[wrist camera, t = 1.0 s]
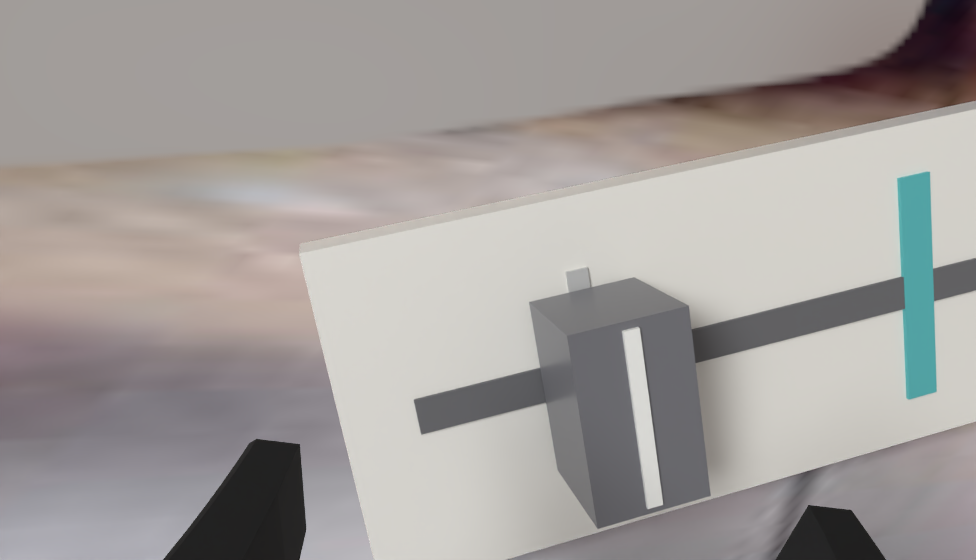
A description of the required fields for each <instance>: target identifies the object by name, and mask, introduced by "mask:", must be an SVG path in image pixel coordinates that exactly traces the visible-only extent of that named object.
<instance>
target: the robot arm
mask: <svg viewBox="0 0 976 560" xmlns="http://www.w3.org/2000/svg"><path fill="white" fill-rule="evenodd" d="M305 532H306V520H305V507H304V494H303V481H302V468H301V455H300V444H293V443H285V442H277V441H268V440H260V439H256V440H254V441H253V442H251V443H249V445H248V446H247V448H246V449H245V451H244V452H243V454H242V455H241V457H240V458H239V460H238V461H237V463H236V464H235V466H234V467H233V468H232V470H231V471H230V473H229V474H228V476H227V477H226V478H225V480H224V481H223V483H222V484H221V486H220V487H219V488H218V490H217V491H216V492H215V494H214V495H213V496H212V498H211V499H210V501H209V502H208V503H207V505H206V506H205V507H204V509H203V510H202V511H201V512H200V514H199V515H198V516H197V518H196V519H195V520H194V522H193V523H192V524H191V526H190V527H189V528H188V530H187V531H186V532H185V533H184V535H183V536H182V537H181V538H180V539H179V541H178V542H177V543H176V544H175V546H174V547H173V548H172V549H171V551H170V552H169V553H168V554H167V556H166V557H165V558H164V559H163V560H299V559H300V554H301V550H302V546H303V541H304V537H305ZM776 560H886V559H885V558H884V556H883V555H882V553H881V552H880V550H879V549H878V547H877V546H876V545H875V543H874V542H873V540H872V539H871V537H870V536H869V534H868V533H867V532H866V530H865V529H864V527H863V526H862V525H861V523H860V522H859V520H858V519H857V517H856V516H855V515H854V513H853V512H852V510H845V509H837V508H828V507H820V506H811V505H808V507H807V509H806V510H805V512H804V514H803V515H802V517H801V519H800V520H799V522H798V524H797V525H796V527H795V529H794V530H793V532H792V534H791V535H790V537H789V539H788V540H787V542H786V544H785V545H784V547H783V549H782V550H781V552H780V554H779V555H778V557H777V559H776Z"/></svg>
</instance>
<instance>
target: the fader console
mask: <svg viewBox="0 0 976 560" xmlns="http://www.w3.org/2000/svg"><path fill="white" fill-rule="evenodd" d="M299 256H300V260H301V264H302V268H303V272H304V276H305V280H306V284H307V288H308V292H309V297H310V301H311V305H312V309H313V313H314V317H315V321H316V325H317V329H318V333H319V337H320V342H321V346H322V350H323V354H324V358H325V362H326V366H327V370H328V374H329V378H330V382H331V387H332V391H333V395H334V399H335V403H336V407H337V411H338V415H339V419H340V423H341V427H342V432H343V436H344V440H345V444H346V448H347V452H348V456H349V460H350V464H351V468H352V472H353V477H354V481H355V485H356V489H357V493H358V497H359V501H360V505H361V509H362V513H363V517H364V522H365V526H366V530H367V534H368V538H369V542H370V546H371V550H372V554H373V558H374V560H506V559H510V558H513V557H517V556H520V555H523V554H527V553H530V552H534V551H537V550H540V549H544V548H547V547H551V546H554V545H557V544H561V543H564V542H568V541H571V540H574V539H578V538H581V537H585V536H588V535H591V534H595V533H598V532H602V531H605V530H608V529H612V528H615V527H619V526H622V525H625V524H629V523H632V522H636V521H639V520H642V519H646V518H649V517H653V516H656V515H659V514H663V513H666V512H670V511H673V510H676V509H680V508H683V507H687V506H690V505H693V504H697V503H700V502H704V501H707V500H710V499H714V498H717V497H721V496H724V495H727V494H731V493H734V492H738V491H741V490H744V489H748V488H751V487H755V486H758V485H761V484H765V483H768V482H772V481H775V480H778V479H782V478H785V477H789V476H792V475H795V474H799V473H802V472H806V471H809V470H812V469H816V468H819V467H823V466H826V465H829V464H833V463H836V462H840V461H843V460H846V459H850V458H853V457H857V456H860V455H863V454H867V453H870V452H874V451H877V450H880V449H884V448H887V447H891V446H894V445H897V444H901V443H904V442H908V441H911V440H914V439H918V438H921V437H925V436H928V435H932V434H935V433H938V432H942V431H945V430H949V429H952V428H955V427H959V426H962V425H966V424H969V423H972V422H976V101H973V102H968V103H963V104H958V105H954V106H949V107H944V108H939V109H935V110H930V111H925V112H921V113H916V114H911V115H906V116H902V117H897V118H892V119H887V120H883V121H878V122H873V123H869V124H864V125H859V126H854V127H850V128H845V129H840V130H835V131H831V132H826V133H821V134H817V135H812V136H807V137H802V138H798V139H793V140H788V141H783V142H779V143H774V144H769V145H764V146H760V147H755V148H750V149H746V150H741V151H736V152H731V153H727V154H722V155H717V156H712V157H708V158H703V159H698V160H694V161H689V162H684V163H679V164H675V165H670V166H665V167H660V168H656V169H651V170H646V171H641V172H637V173H632V174H627V175H623V176H618V177H613V178H608V179H604V180H599V181H594V182H589V183H585V184H580V185H575V186H571V187H566V188H561V189H556V190H552V191H547V192H542V193H537V194H533V195H528V196H523V197H519V198H514V199H509V200H504V201H500V202H495V203H490V204H485V205H481V206H476V207H471V208H466V209H462V210H457V211H452V212H448V213H443V214H438V215H433V216H429V217H424V218H419V219H414V220H410V221H405V222H400V223H396V224H391V225H386V226H381V227H377V228H372V229H367V230H362V231H358V232H353V233H348V234H344V235H339V236H334V237H329V238H325V239H320V240H315V241H310V242H306V243H301V244H300V249H299ZM633 277H635V278H637V279H639V280H641V281H642V282H644V283H646V284H648V285H650V286H652V287H654V288H656V289H658V290H660V291H662V292H664V293H665V294H667V295H669V296H671V297H673V298H675V299H677V300H679V301H681V302H683V303H685V304H687V305H688V306H689V311H690V320H691V329H692V337H693V346H694V355H695V363H696V372H697V381H698V389H699V398H700V407H701V416H702V424H703V433H704V442H705V450H706V459H707V468H708V476H709V485H710V494H711V496H709V497H705V498H702V499H698V500H695V501H692V502H688V503H685V504H681V505H678V506H674V507H671V508H668V509H664V510H661V511H657V512H654V513H651V514H647V515H644V516H640V517H637V518H634V519H630V520H627V521H623V522H620V523H616V524H613V525H610V526H606V527H603V528H599V529H597V527H596V526H595V524H594V523H593V522H592V520H591V519H590V517H589V516H588V514H587V513H586V511H585V510H584V508H583V507H582V505H581V504H580V502H579V501H578V499H577V498H576V497H575V495H574V494H573V492H572V491H571V489H570V488H569V486H568V485H567V483H566V482H565V480H564V479H563V477H562V476H561V474H560V473H559V471H558V470H557V464H556V458H555V452H554V446H553V440H552V434H551V429H550V423H549V417H548V411H547V405H546V399H545V393H544V387H543V381H542V376H541V370H540V364H539V358H538V352H537V346H536V340H535V334H534V328H533V323H532V317H531V311H530V305H529V302H531V301H535V300H539V299H544V298H548V297H552V296H556V295H561V294H565V293H569V292H573V291H578V290H582V289H586V288H590V287H595V286H599V285H603V284H607V283H612V282H616V281H620V280H624V279H628V278H633Z"/></svg>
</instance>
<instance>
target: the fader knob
mask: <svg viewBox="0 0 976 560" xmlns="http://www.w3.org/2000/svg"><path fill="white" fill-rule="evenodd" d="M529 305H530V311H531V317H532V323H533V328H534V334H535V340H536V346H537V352H538V358H539V364H540V370H541V376H542V381H543V387H544V393H545V399H546V405H547V411H548V417H549V423H550V429H551V434H552V440H553V446H554V452H555V458H556V464H557V470H558V471H559V473H560V474H561V476H562V477H563V479H564V480H565V482H566V483H567V485H568V486H569V488H570V489H571V491H572V492H573V494H574V495H575V497H576V498H577V499H578V501H579V502H580V504H581V505H582V507H583V508H584V510H585V511H586V513H587V514H588V516H589V517H590V519H591V520H592V522H593V523H594V524H595V526H596V527H597V529H599V528H603V527H606V526H610V525H613V524H616V523H620V522H623V521H627V520H630V519H634V518H637V517H640V516H644V515H647V514H651V513H654V512H657V511H661V510H664V509H668V508H671V507H674V506H678V505H681V504H685V503H688V502H692V501H695V500H698V499H702V498H705V497H709V496H711V494H710V485H709V476H708V468H707V459H706V450H705V442H704V433H703V424H702V416H701V407H700V398H699V389H698V381H697V372H696V363H695V355H694V346H693V337H692V329H691V320H690V311H689V306H688V305H687V304H685V303H683V302H681V301H679V300H677V299H675V298H673V297H671V296H669V295H667V294H665V293H664V292H662V291H660V290H658V289H656V288H654V287H652V286H650V285H648V284H646V283H644V282H642V281H641V280H639V279H637V278H635V277H633V278H628V279H624V280H620V281H616V282H612V283H607V284H603V285H599V286H595V287H590V288H586V289H582V290H578V291H573V292H569V293H565V294H561V295H556V296H552V297H548V298H544V299H539V300H535V301H531V302H529Z"/></svg>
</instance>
